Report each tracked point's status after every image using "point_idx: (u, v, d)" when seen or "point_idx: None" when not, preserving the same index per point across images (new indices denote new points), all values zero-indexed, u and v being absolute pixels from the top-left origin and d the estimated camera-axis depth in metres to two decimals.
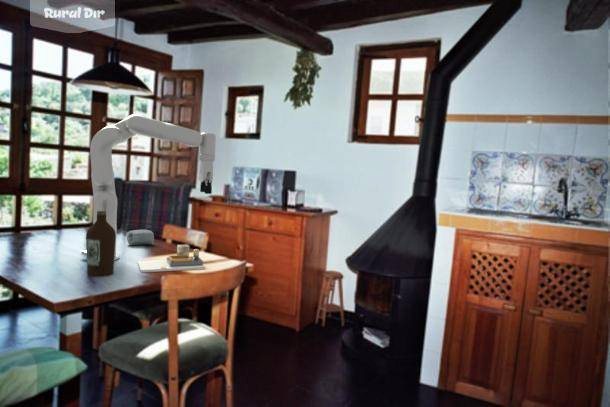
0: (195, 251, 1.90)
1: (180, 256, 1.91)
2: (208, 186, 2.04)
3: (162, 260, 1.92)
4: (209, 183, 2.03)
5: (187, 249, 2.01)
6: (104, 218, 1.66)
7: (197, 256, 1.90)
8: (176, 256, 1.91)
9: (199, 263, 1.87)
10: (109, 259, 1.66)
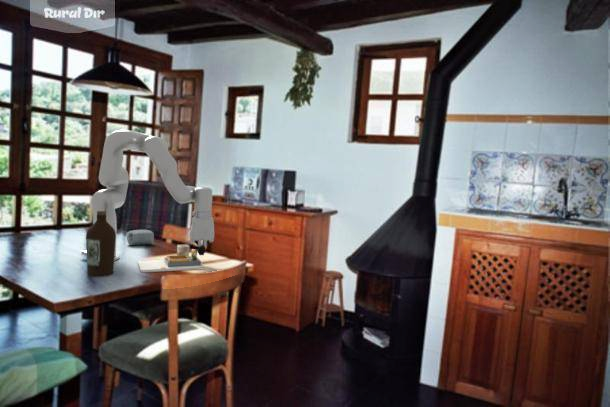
0: (193, 251, 1.89)
1: (178, 256, 1.91)
2: None
3: (162, 260, 1.92)
4: None
5: (187, 249, 2.01)
6: (104, 218, 1.66)
7: (195, 256, 1.90)
8: (174, 256, 1.90)
9: (197, 263, 1.86)
10: (109, 259, 1.66)
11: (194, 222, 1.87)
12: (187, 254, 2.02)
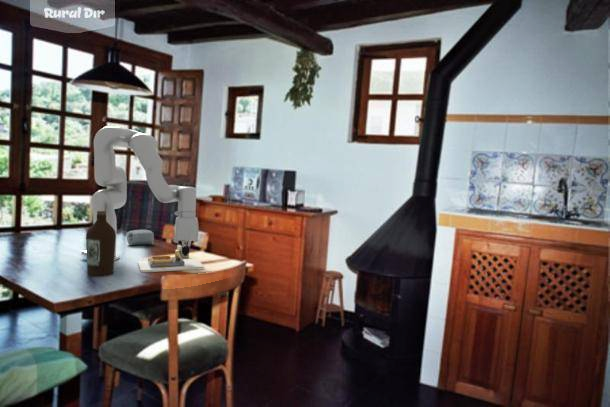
0: (177, 252, 1.86)
1: (162, 257, 1.88)
2: None
3: None
4: None
5: None
6: (104, 218, 1.66)
7: (179, 257, 1.87)
8: (157, 257, 1.87)
9: (180, 264, 1.83)
10: (109, 259, 1.66)
11: (177, 222, 1.83)
12: None
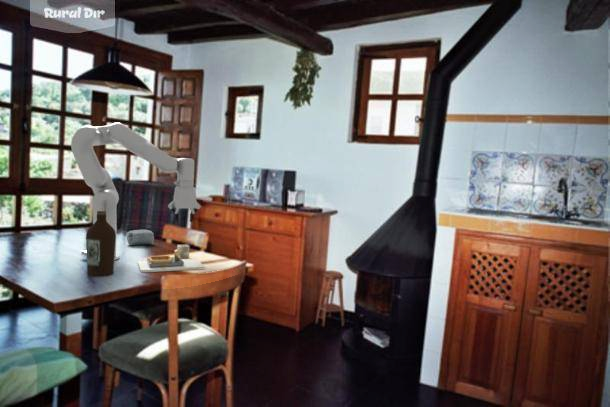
0: (176, 252, 1.86)
1: (161, 257, 1.88)
2: None
3: None
4: None
5: (187, 249, 2.01)
6: (104, 218, 1.66)
7: (178, 257, 1.86)
8: (157, 257, 1.87)
9: (180, 264, 1.83)
10: (109, 259, 1.66)
11: (177, 191, 1.96)
12: (187, 254, 2.02)
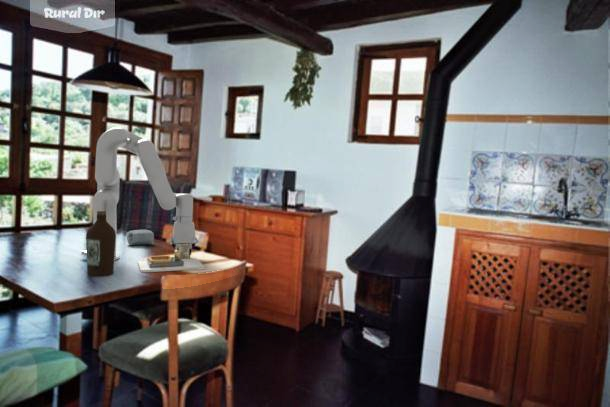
0: (176, 252, 1.86)
1: (161, 257, 1.88)
2: None
3: None
4: None
5: (187, 249, 2.01)
6: (104, 218, 1.66)
7: (178, 257, 1.86)
8: (157, 257, 1.87)
9: (180, 264, 1.83)
10: (109, 259, 1.66)
11: (175, 226, 1.98)
12: (187, 254, 2.02)
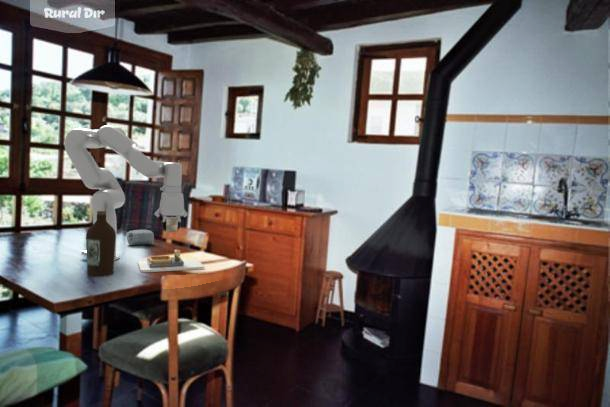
0: (176, 252, 1.86)
1: (161, 257, 1.88)
2: None
3: None
4: None
5: (175, 222, 1.89)
6: (104, 218, 1.66)
7: (178, 257, 1.86)
8: (157, 257, 1.87)
9: (180, 264, 1.83)
10: (109, 259, 1.66)
11: (163, 197, 1.85)
12: (175, 227, 1.89)
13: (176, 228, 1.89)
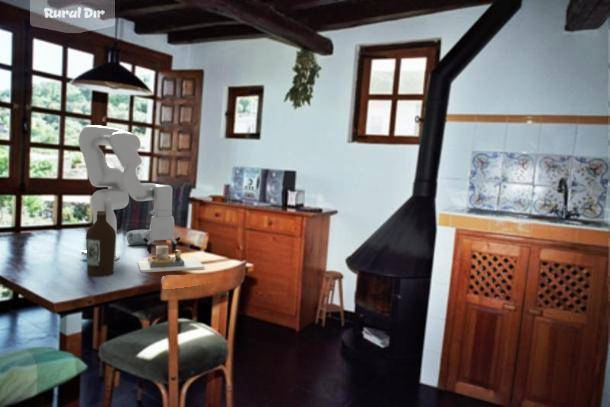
0: (177, 252, 1.86)
1: None
2: None
3: None
4: None
5: (166, 251, 1.82)
6: (104, 218, 1.66)
7: (179, 257, 1.87)
8: None
9: (180, 264, 1.83)
10: (109, 259, 1.66)
11: (153, 221, 1.79)
12: (166, 256, 1.83)
13: (167, 257, 1.83)
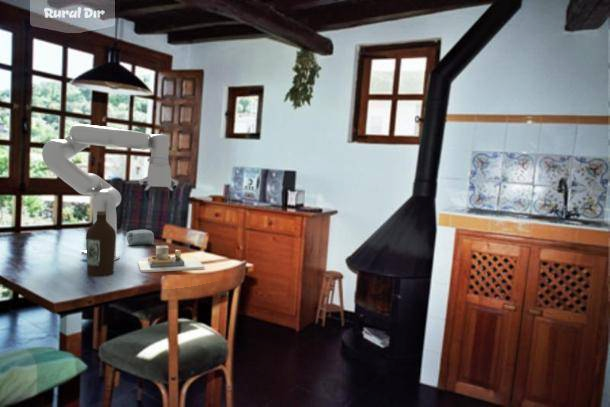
0: (177, 252, 1.86)
1: None
2: None
3: None
4: (174, 188, 1.97)
5: (166, 251, 1.82)
6: (104, 218, 1.66)
7: (179, 257, 1.87)
8: None
9: (180, 264, 1.83)
10: (109, 259, 1.66)
11: (150, 168, 1.89)
12: (166, 256, 1.83)
13: (167, 257, 1.83)
